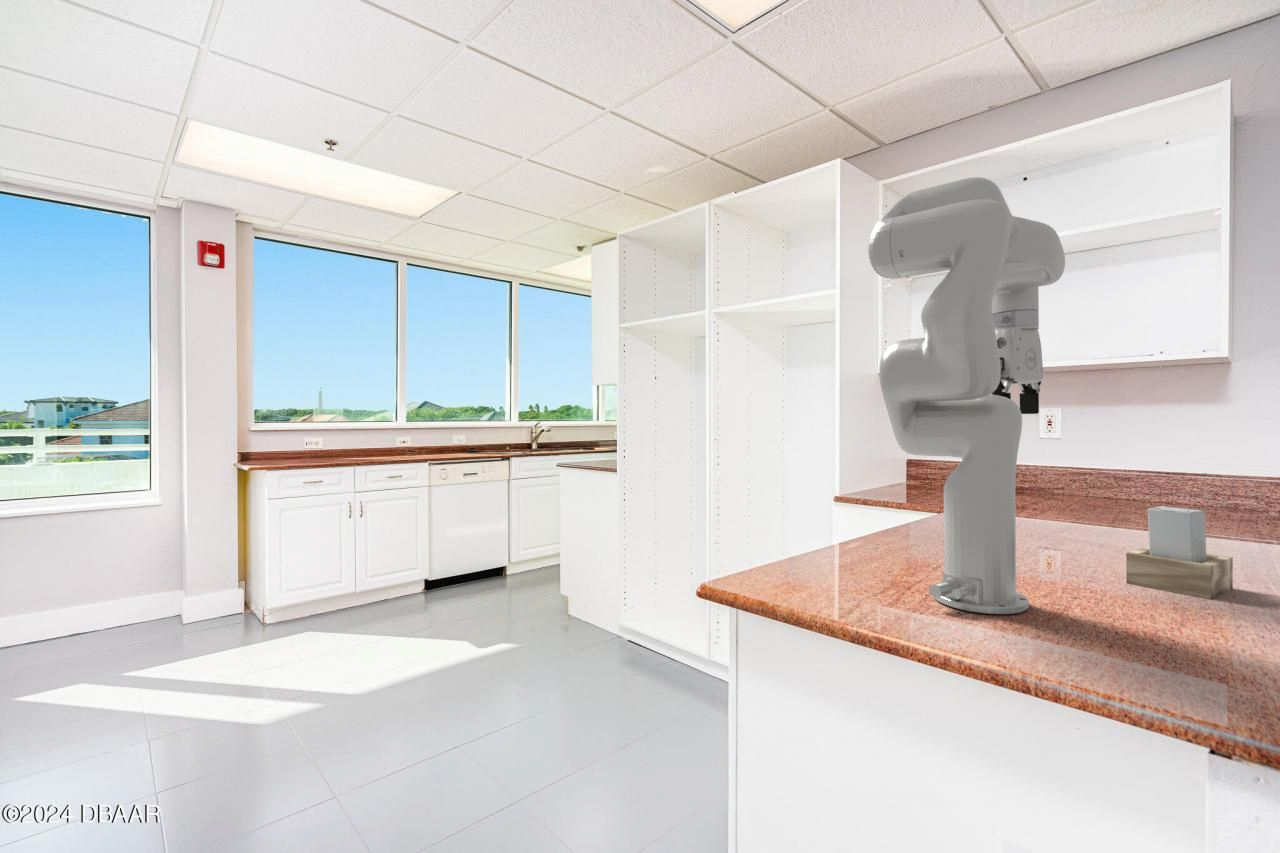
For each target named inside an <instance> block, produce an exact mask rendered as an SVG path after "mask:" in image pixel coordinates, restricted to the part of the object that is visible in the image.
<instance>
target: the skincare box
mask: <svg viewBox="0 0 1280 853" xmlns="http://www.w3.org/2000/svg"><path fill="white" fill-rule="evenodd" d="M1205 515H1206V514H1205V511H1204V510H1200V509H1191V508H1183V507H1182V508H1181V507H1170V506H1165V505H1164V506H1160V505H1159V506H1155V507H1154V506H1153V507H1149V508H1147V524H1148V525H1147V526H1148V546H1149V552H1150V555H1152V556H1158V557H1165V558H1171V559H1178V560H1184V561H1191V562H1197V563H1205V562H1207V561H1206V554H1207V540H1206V537H1207V536H1206V516H1205Z"/></svg>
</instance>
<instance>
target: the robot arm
mask: <svg viewBox="0 0 1280 853" xmlns="http://www.w3.org/2000/svg"><path fill="white" fill-rule="evenodd" d="M870 233H871V234H870V237H869V241H868V248H867V249H868V252H867V253H868V259H869V263H870V265H871V267H872V269H873V271H874V272H875V273H876V274H877V275H879V276H880V277H882V278H883V279H890V280H892V279H893V280H896V279H902V278H903V279H904V278H908V277H915V276H920V275H927V274H934V273H940V272H945V271H948V273H947V274H946V276H945V277H944V278H943V279H942V281H940V282H939V284H938V285H937V286H936V287H935V288H934V289H933V291H932V292H931V294H930V295H929V297H928V299H927V300H926V302H925V304H924V306H923V307H922V310H921V315H920V316H921V317H920V319H921V325H922V329H923V334H924V337H919V338H918V337H916V338H909V339H902V340H897V341H895V342H894V343H891V344H890V345H889V346H887V347H886V348H885V350H884V351H883V353H882V355H881V358H880V362H879V370H878V371H879V383H880V388H881V392H882V397H883V400H884V403H885V407H886V410H887V413H888V418H889V419H890V424H891V427H892V428H891V429H892V430H893V434H894V438H895V441H896V443H897V444H898V446H899V448H900V449H901V450H902V451H903V452H904V453H906V454H909V455H913V456H923V457H952V458H961V459H962V460H961V462H960V463H959V464H958V465H957V467H956V468H955V469H954V470H953V471H952V472H951V473H950V474H949V475H948V476H947V478H946V480H945V483H944V486H943V524H944V525H943V530H944V531H943V532H944V533H943V534H944V535H943V536H944V537H943V538H944V544H943V545H944V549H943V550H944V572H942V581H941V582H938V583H934V584H931V585H930V586H929V587H928V592H929V594H930V596H932V597H933V598H935V600H936V601H938V602H940V603H941V604H943V605H945V606H948V607H950V608H955V609H959V610H963V611H966V612H971V613H972V612H973V613H978V614H979V613H980V614H986V615H987V614H989V615H1010V614H1011V615H1013V614H1019V613H1023V612H1025V611H1027V610H1028V609H1029V607H1030V606H1029V605H1030V604H1029V603H1030V602H1029V598H1028V597H1027V596H1025V595H1024V594H1022V593H1020V592H1019V591H1017V533H1016V532H1017V531H1016V530H1017V528H1016V526H1017V525H1016V519H1017V518H1016V514H1017V512H1016V510H1017V508H1016V507H1017V506H1016V479H1017V478H1016V473H1017V463H1018V462H1017V461H1018V452H1019V446H1020V441H1021V434H1022V430H1023V415H1038V414H1039V413H1040V397H1039V396H1040V391H1041V388H1040V386H1041V384H1042V380H1043V378H1044V366H1043V353H1042V352H1043V351H1042V343H1041V336H1040V332H1039V328H1040V327H1039V326H1040V322H1039V321H1040V320H1039V319H1040V317H1039V316H1040V313H1039V310H1040V308H1039V306H1040V304H1039V301H1040V300H1039V287H1044V286H1045V287H1046V286H1050V285H1053V284H1055V283H1056V282H1058V281H1059V280H1060V279H1061V278H1062V276H1063V274H1064V271H1065V268H1066V258H1065V257H1066V256H1065V255H1066V254H1065V252H1064V248H1063V244H1062V242H1061V240H1060V239H1061V238H1060V237H1059V234H1058V233H1057V231H1056V229H1055V228H1054V227H1052V226H1050V225H1049V224H1046V223H1044V222H1040V221H1036V220H1033V219H1028V218H1024V217H1019V216H1016V215H1013V214H1012V212H1011V211H1010V207H1009V205H1008V203H1007V202H1006V199H1005V197H1004V194H1003V193H1002V191H1001V189H1000V187H999V186H998V185H997V184H996V183H995V182H993V181H992V180H991V179H988V178H985V177H976V176H975V177H968V178H963V179H958V180H954V181H951V182H946V183H943V184H938V185H934V186H930V187H926V188H922V189H919V190H914V191H912V192H910V193H908V194H905V195H904V196H903V197H901V198H900V199H899V200H897V201H896V202H895V203H894V204H893V205H892V206H891V207H890V208H889V209H888V210H887V211H886V212H885V213H884V214H883V216H882V217H881V218H880V219H879V220H878V221H877V222H876V224H875V226H874V227H873V229H872V231H871V232H870ZM1012 384H1015V385H1016V384H1018V387H1019V388H1020V391H1021V393H1019V405H1018V404H1017V403H1016V401H1014V400H1012V398H1011V397H1012V394H1011V392H1009V390H1010V388H1011V386H1012Z"/></svg>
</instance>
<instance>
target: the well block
mask: <svg viewBox="0 0 1280 853" xmlns="http://www.w3.org/2000/svg"><path fill="white" fill-rule="evenodd" d="M1125 557H1126V558H1125V559H1126V575H1125V576H1126V577H1125V578H1126V584H1129V583H1130V585H1134V584H1136V586H1140V585H1141V587H1144V588H1145V587H1146V588H1151V589H1155V588H1156V590H1160V589H1162V590H1161V591H1166V592H1171V591H1172V593H1177V594H1181V593H1182V594H1183V595H1188V596H1191V597H1192V596H1194V597H1197V598H1201V599H1208V600H1211V599H1213V598H1216V597H1218V596H1220V595H1223V594H1224V593H1227V592H1229V591H1231V590H1233V584H1234V582H1233V581H1234V580H1233V579H1234V578H1233V572H1234V571H1233V569H1234V568H1233V566H1234V565H1233V562H1234V560H1233V556H1225V555H1218V554H1211V553H1206V561H1207V562H1205V563H1197V562H1191V561H1184V560H1178V559H1171V558H1165V557H1158V556H1152V555H1150V552H1149V545H1148V546H1146V547H1142V548H1138V549H1135V550H1132V551H1129V552H1126V554H1125Z"/></svg>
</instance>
